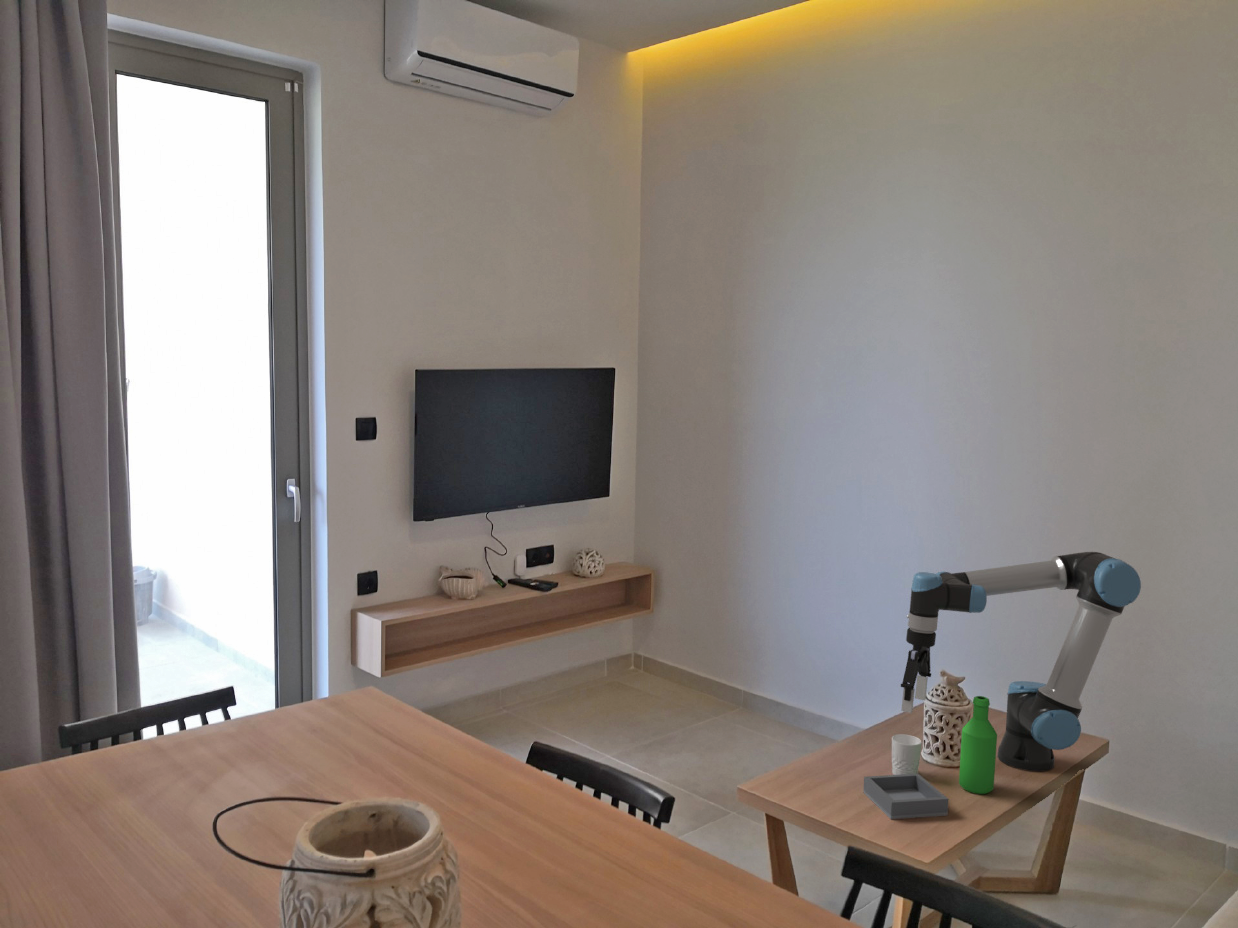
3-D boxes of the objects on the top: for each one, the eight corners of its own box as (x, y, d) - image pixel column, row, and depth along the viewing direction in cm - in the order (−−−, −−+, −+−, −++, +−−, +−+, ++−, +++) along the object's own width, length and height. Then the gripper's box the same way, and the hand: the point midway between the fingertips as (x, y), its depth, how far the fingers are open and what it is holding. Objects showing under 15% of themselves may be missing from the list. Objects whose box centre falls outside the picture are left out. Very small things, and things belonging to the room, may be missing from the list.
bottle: (960, 778, 260) (966, 690, 258) (994, 785, 256) (1000, 695, 254) (957, 790, 252) (962, 699, 250) (991, 798, 248) (997, 705, 246)
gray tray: (917, 788, 252) (917, 773, 252) (947, 815, 237) (948, 798, 237) (863, 792, 250) (864, 776, 249) (890, 819, 234) (891, 802, 234)
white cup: (921, 781, 257) (923, 746, 256) (891, 778, 259) (892, 743, 258) (917, 770, 265) (919, 735, 264) (888, 767, 266) (890, 732, 266)
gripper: (919, 618, 270) (912, 690, 272) (895, 635, 249) (886, 713, 251) (946, 624, 266) (938, 697, 268) (923, 641, 245) (915, 720, 247)
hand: (913, 705), depth 259 cm, fingers open, 13 cm apart
